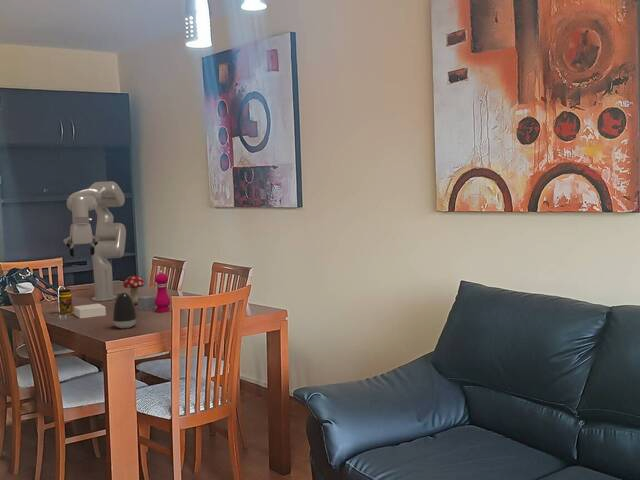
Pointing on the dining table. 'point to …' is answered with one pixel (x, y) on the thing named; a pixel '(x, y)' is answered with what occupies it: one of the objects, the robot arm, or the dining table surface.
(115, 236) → the robot arm
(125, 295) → the dark grey domed cylinder
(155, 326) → the dining table surface
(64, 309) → the condiment
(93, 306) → the cream block
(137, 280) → the decorative mushroom
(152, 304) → the slate cube
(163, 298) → the pepper mill
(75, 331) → the dining table surface
